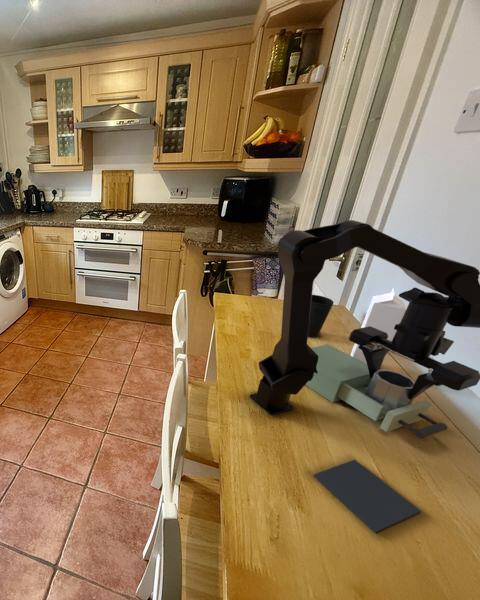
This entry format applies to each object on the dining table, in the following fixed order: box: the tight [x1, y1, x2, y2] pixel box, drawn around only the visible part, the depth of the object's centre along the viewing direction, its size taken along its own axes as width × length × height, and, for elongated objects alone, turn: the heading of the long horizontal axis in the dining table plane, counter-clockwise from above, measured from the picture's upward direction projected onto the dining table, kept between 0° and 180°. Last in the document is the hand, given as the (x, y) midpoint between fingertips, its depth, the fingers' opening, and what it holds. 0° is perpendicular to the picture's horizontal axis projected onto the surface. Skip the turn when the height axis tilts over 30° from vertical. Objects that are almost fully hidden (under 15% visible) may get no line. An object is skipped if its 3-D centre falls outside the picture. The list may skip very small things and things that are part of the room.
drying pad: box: [313, 459, 421, 534], centre depth 53 cm, size 10×10×1 cm
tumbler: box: [365, 369, 416, 416], centre depth 68 cm, size 6×7×8 cm
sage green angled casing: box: [304, 343, 370, 404], centre depth 80 cm, size 13×13×6 cm
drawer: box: [337, 376, 448, 439], centre depth 68 cm, size 16×11×4 cm
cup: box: [308, 294, 335, 338], centre depth 101 cm, size 8×8×12 cm
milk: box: [349, 287, 407, 364], centre depth 82 cm, size 6×6×22 cm
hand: (391, 388), depth 68 cm, fingers closed on tumbler, 7 cm apart
